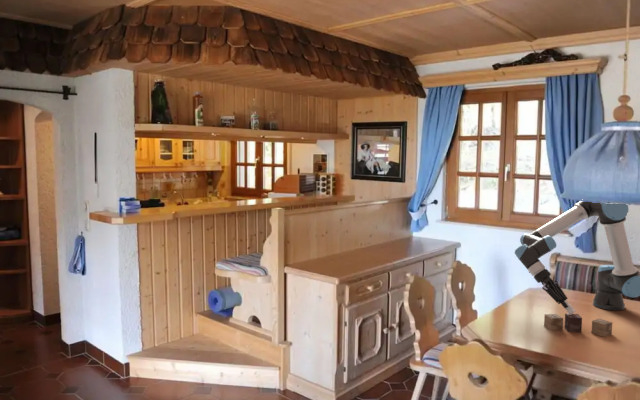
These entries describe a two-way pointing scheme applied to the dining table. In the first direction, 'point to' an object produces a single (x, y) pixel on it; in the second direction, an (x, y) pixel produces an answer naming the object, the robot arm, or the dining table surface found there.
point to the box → (573, 323)
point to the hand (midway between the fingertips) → (572, 313)
